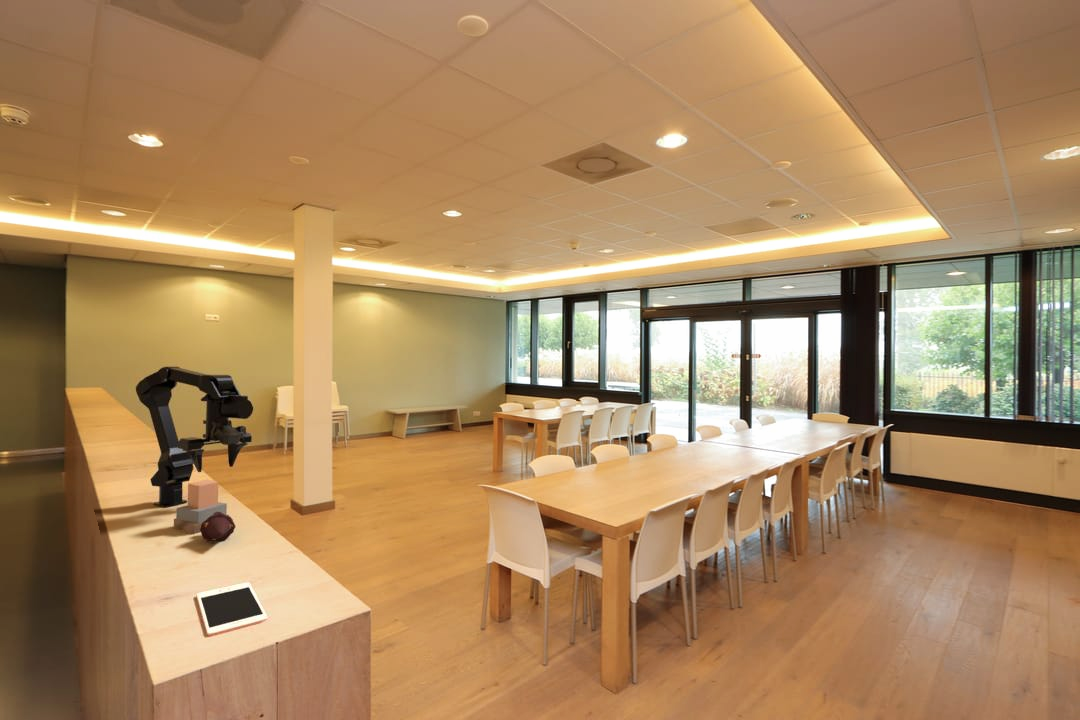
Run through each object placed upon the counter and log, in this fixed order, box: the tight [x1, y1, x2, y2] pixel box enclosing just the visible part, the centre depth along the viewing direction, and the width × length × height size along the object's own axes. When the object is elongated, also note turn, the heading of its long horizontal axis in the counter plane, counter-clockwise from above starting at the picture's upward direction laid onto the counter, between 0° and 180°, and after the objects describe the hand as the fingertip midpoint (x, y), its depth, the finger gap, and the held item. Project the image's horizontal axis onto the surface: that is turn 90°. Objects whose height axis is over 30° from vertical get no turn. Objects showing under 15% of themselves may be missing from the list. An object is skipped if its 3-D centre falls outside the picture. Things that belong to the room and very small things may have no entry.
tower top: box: [175, 501, 228, 523], centre depth 137 cm, size 8×8×3 cm
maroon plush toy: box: [200, 511, 236, 544], centre depth 127 cm, size 7×7×15 cm
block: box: [187, 479, 219, 509], centre depth 138 cm, size 5×5×6 cm
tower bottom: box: [173, 514, 230, 535], centre depth 137 cm, size 9×9×3 cm
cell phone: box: [196, 581, 268, 637], centre depth 93 cm, size 9×18×1 cm, turn 39°
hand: (215, 469), depth 153 cm, fingers open, 9 cm apart
